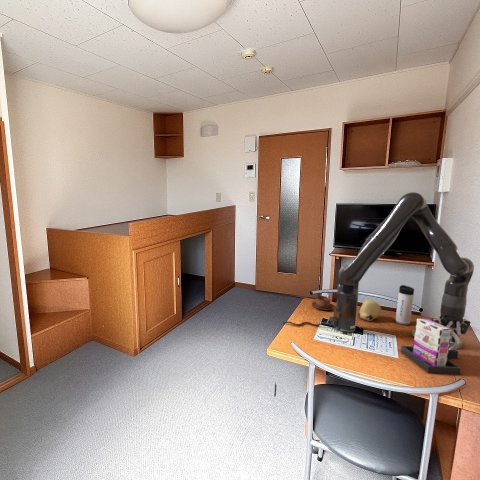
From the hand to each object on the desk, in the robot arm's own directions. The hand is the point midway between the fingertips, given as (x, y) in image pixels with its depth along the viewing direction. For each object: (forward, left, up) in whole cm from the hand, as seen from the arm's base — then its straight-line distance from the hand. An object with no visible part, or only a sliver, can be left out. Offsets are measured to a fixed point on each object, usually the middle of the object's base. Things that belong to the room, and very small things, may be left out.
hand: (447, 341), depth 135 cm
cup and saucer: (-31, +52, -7) cm, 61 cm away
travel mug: (+3, +34, -7) cm, 35 cm away
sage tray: (+5, +13, -6) cm, 15 cm away
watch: (0, 0, -6) cm, 6 cm away
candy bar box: (-11, -6, -6) cm, 14 cm away
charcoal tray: (-11, -6, -6) cm, 14 cm away
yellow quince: (-12, +38, -7) cm, 40 cm away
